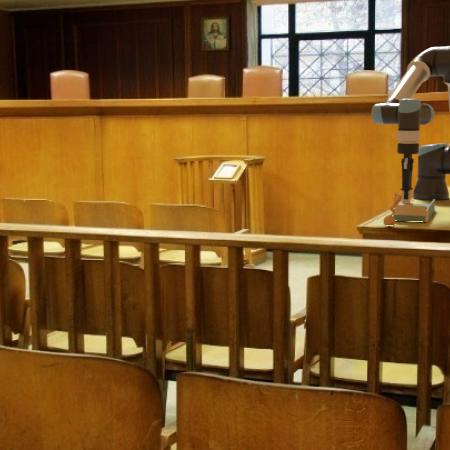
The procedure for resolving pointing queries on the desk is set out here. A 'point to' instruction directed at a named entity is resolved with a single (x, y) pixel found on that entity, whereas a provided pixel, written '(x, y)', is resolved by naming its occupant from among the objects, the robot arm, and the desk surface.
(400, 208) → the box
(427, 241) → the desk surface
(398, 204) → the birch block
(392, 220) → the figurine
